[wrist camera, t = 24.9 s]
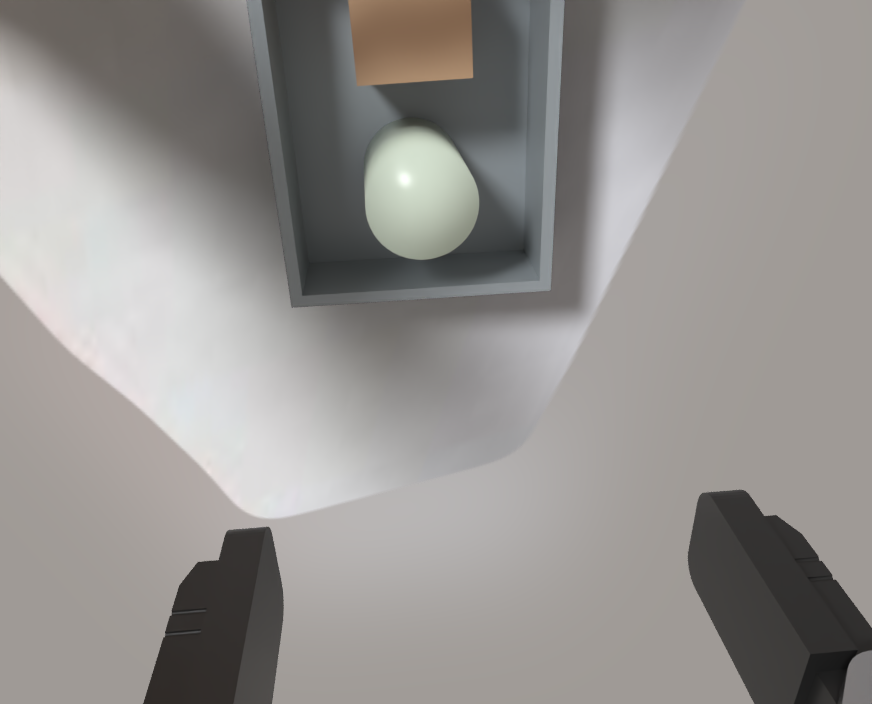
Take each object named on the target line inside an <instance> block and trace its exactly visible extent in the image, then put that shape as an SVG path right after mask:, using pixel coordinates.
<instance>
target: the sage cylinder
mask: <svg viewBox="0 0 872 704" xmlns="http://www.w3.org/2000/svg"><path fill="white" fill-rule="evenodd" d="M364 189H365V210H366V216H367V221H368V223H369V226H370V228H371V230H372V232H373V234H374V235H375V237H376V238H377V239H378V241H379V242H380V243H381V244H382V245H383V246H385V247H386V248H387V249H388V250H390V251H392V252H393V253H395V254H397V255H399V256H402V257H405V258H409V259H416V260H426V259H433V258H437V257H440V256H443V255H445V254H447V253H449V252H451V251H453V250H454V249H456V248H457V247H458V246H459V245H460V244H462V243H463V241H464V240H465V239H466V238H467V237H468V235H469V234H470V233H471V231H472V229H473V227H474V225H475V222H476V220H477V216H478V211H479V194H478V189H477V186H476V183H475V181H474V178H473V176H472V175H471V173H470V171H469V169H468V167H467V166H466V164H465V162H464V160H463V159H462V157H461V155H460V153H459V152H458V150H457V148H456V146H455V144H454V143H453V141H452V139H451V138H450V137H449V135H448V134H447V133H446V132H445V131H444V130H443V129H442V128H441V127H439V126H438V125H436V124H434V123H433V122H431V121H428V120H425V119H421V118H403V119H399V120H396V121H393V122H391V123H389V124H387V125H386V126H384V127H383V128H381V129H380V130H379V131H378V132H377V133H376V134H375V136H374V137H373V138H372V140H371V141H370V143H369V145H368V147H367V150H366V153H365V158H364Z"/></svg>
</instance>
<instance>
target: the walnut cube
mask: <svg viewBox="0 0 872 704" xmlns="http://www.w3.org/2000/svg"><path fill="white" fill-rule="evenodd" d="M348 4H349V13H350V23H351V33H352V42H353V52H354V62H355V71H356V81H357V86H366V85H381V84H395V83H409V82H423V81H437V80H452V79H466V78H473V55H472V19H471V0H348Z"/></svg>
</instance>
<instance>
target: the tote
mask: <svg viewBox="0 0 872 704" xmlns="http://www.w3.org/2000/svg"><path fill="white" fill-rule="evenodd" d="M246 1H247V8H248V15H249V22H250V28H251V35H252V42H253V49H254V55H255V62H256V69H257V76H258V82H259V89H260V96H261V103H262V109H263V116H264V123H265V130H266V137H267V143H268V150H269V157H270V164H271V170H272V177H273V184H274V191H275V197H276V204H277V211H278V218H279V225H280V231H281V238H282V245H283V252H284V258H285V265H286V272H287V279H288V285H289V292H290V299H291V306H292V308H293V307H308V306H323V305H339V304H354V303H369V302H385V301H400V300H415V299H431V298H446V297H461V296H476V295H492V294H507V293H522V292H538V291H551V275H552V254H553V233H554V212H555V191H556V170H557V149H558V128H559V107H560V86H561V65H562V44H563V23H564V2H565V0H471V19H472V55H473V78H466V79H452V80H437V81H423V82H409V83H395V84H381V85H366V86H357V81H356V71H355V62H354V52H353V42H352V33H351V23H350V13H349V4H348V0H246ZM403 118H421V119H425V120H428V121H431V122H433V123H434V124H436V125H438V126H439V127H441V128H442V129H443V130H444V131H445V132H446V133H447V134H448V135H449V137H450V138H451V139H452V141H453V143H454V144H455V146H456V148H457V150H458V152H459V153H460V155H461V157H462V159H463V160H464V162H465V164H466V166H467V167H468V169H469V171H470V173H471V175H472V176H473V178H474V181H475V183H476V186H477V189H478V194H479V211H478V216H477V220H476V222H475V225H474V227H473V229H472V231H471V233H470V234H469V235H468V237H467V238H466V239H465V240H464V241H463V243H462V244H460V245H459V246H458V247H457V248H456V249H454V250H453V251H451V252H449V253H447V254H445V255H443V256H440V257H437V258H433V259H426V260H416V259H409V258H405V257H402V256H399V255H397V254H395V253H393V252H392V251H390V250H388V249H387V248H386V247H385V246H383V245H382V244H381V243H380V242H379V241H378V239H377V238H376V237H375V235H374V234H373V232H372V230H371V228H370V226H369V223H368V221H367V216H366V210H365V189H364V158H365V153H366V150H367V147H368V145H369V143H370V141H371V140H372V138H373V137H374V136H375V134H376V133H377V132H378V131H379V130H380V129H381V128H383V127H384V126H386V125H387V124H389V123H391V122H393V121H396V120H399V119H403Z"/></svg>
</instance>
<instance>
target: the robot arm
mask: <svg viewBox="0 0 872 704" xmlns="http://www.w3.org/2000/svg"><path fill="white" fill-rule="evenodd" d="M688 564H689V571H690V575H691V579H692V582H693V584H694V586H695V589H696V591H697V593H698V595H699V597H700V598H701V600H702V602H703V604H704V606H705V608H706V610H707V612H708V614H709V616H710V618H711V620H712V622H713V624H714V626H715V628H716V630H717V632H718V634H719V636H720V637H721V639H722V641H723V643H724V645H725V647H726V649H727V651H728V653H729V655H730V657H731V659H732V661H733V663H734V665H735V667H736V669H737V671H738V673H739V674H740V676H741V678H742V680H743V682H744V684H745V686H746V688H747V690H748V692H749V694H750V696H751V698H752V700H753V702H754V704H872V628H871V627H870V625H869V624H868V622H867V621H866V620H865V618H864V617H863V615H862V614H861V613H860V611H859V610H858V609H857V607H856V606H855V605H854V603H853V602H852V601H851V599H850V598H849V597H848V596H847V594H846V593H845V591H844V590H843V589H842V587H841V586H840V585H839V583H838V582H837V581H836V580H833V578H832V574H831V573H830V571H829V570H828V569H827V567H826V566H825V565H824V563H823V562H822V561H819V558H818V555H817V554H816V553H815V551H814V550H813V548H812V547H811V546H810V544H809V543H808V542H807V540H806V539H805V538H804V536H803V535H802V534H801V533H800V532H798V531H797V530H796V529H794V528H793V527H791V526H790V525H789V524H787V523H786V522H785V521H783V520H782V519H780V518H779V517H778V516H776V515H773V516H764V515H763V514H762V512H761V511H760V509H759V508H758V507H757V505H756V504H755V502H754V501H753V499H752V498H751V497H750V495H749V494H748V493H747V492H746V491H744V490H733V491H720V492H709V493H702V494H701V495H700V497H699V499H698V503H697V508H696V514H695V519H694V524H693V530H692V535H691V541H690V546H689V552H688ZM283 606H284V605H283V589H282V582H281V578H280V572H279V567H278V563H277V557H276V552H275V547H274V542H273V537H272V532H271V530H270V528H269V527H260V528H248V529H236V530H228V531H227V532H226V535H225V538H224V542H223V546H222V550H221V554H220V557H219V560H218V561H217V560H216V561H204V562H198V563H197V564H196V565H195V567H194V568H193V569H192V570H191V571H190V573H189V574H188V575H187V577H186V578H185V579H184V580H183V582H182V583H181V584H180V586H179V588H178V592H177V595H176V598H175V602H174V605H173V608H172V616H170V618H169V621H168V624H167V628H166V631H165V638H163V641H162V644H161V647H160V651H159V654H158V657H157V661H156V664H155V667H154V671H153V674H152V677H151V680H150V684H149V687H148V690H147V693H146V697H145V700H144V703H143V704H272V698H273V691H274V683H275V676H276V668H277V660H278V653H279V645H280V638H281V631H282V623H283Z"/></svg>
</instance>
